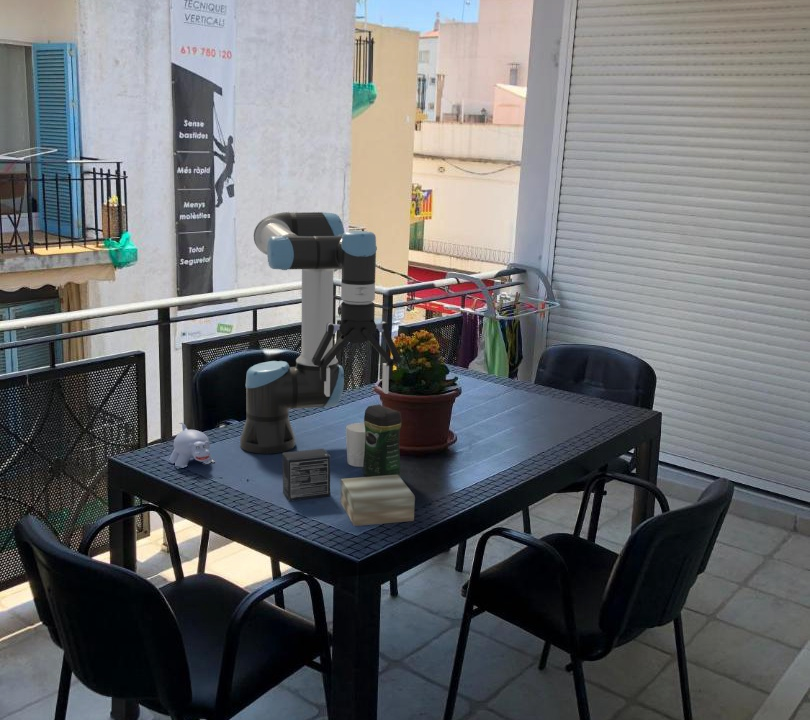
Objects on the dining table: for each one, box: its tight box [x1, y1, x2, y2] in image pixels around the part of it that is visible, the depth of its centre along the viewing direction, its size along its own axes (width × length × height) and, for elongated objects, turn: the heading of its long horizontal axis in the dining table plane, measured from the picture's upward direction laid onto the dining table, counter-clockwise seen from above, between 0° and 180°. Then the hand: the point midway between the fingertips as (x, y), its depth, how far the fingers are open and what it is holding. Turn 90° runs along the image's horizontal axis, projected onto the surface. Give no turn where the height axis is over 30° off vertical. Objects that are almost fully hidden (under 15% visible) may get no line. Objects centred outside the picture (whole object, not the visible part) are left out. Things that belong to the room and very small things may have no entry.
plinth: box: [340, 475, 416, 527], centre depth 216 cm, size 14×14×6 cm
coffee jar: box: [362, 404, 402, 477], centre depth 237 cm, size 10×8×19 cm
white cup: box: [345, 422, 365, 468], centre depth 247 cm, size 8×8×10 cm
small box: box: [282, 448, 331, 502], centre depth 225 cm, size 11×6×10 cm, turn 111°
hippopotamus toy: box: [168, 422, 216, 466], centre depth 243 cm, size 11×15×10 cm
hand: (356, 393), depth 211 cm, fingers open, 13 cm apart
